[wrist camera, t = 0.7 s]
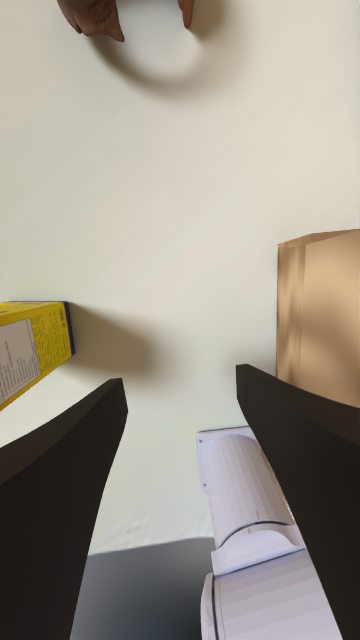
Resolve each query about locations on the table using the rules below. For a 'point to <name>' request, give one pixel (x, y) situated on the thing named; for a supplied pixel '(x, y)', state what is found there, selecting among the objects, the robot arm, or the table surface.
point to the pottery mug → (105, 16)
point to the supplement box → (31, 344)
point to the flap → (332, 319)
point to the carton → (292, 303)
